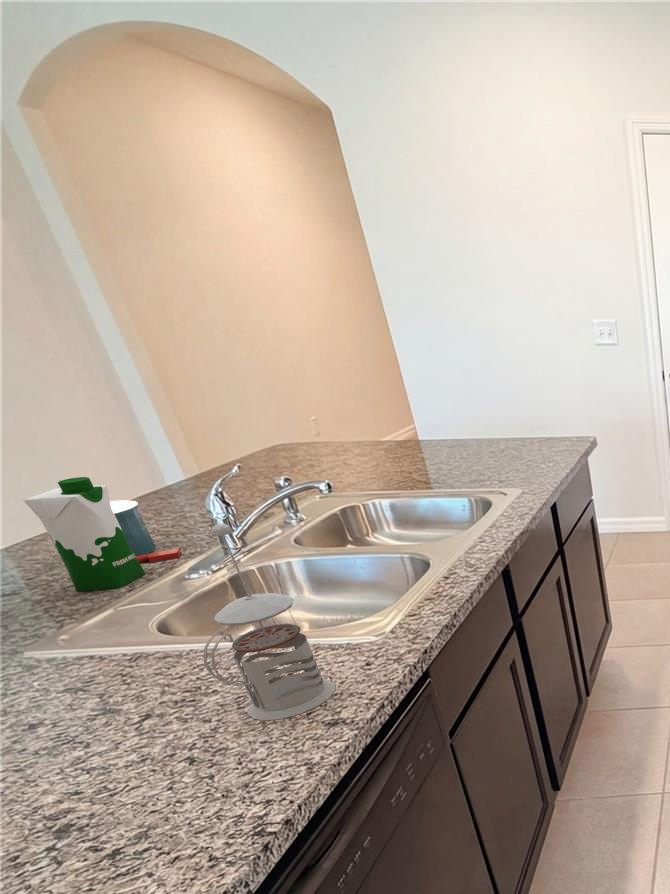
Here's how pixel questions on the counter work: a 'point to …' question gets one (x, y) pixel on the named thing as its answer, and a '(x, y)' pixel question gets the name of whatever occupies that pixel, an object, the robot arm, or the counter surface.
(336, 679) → the counter surface
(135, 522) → the pot
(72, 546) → the milk carton
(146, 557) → the red long bar
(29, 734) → the counter surface
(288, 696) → the french press
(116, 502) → the white round shallow piece
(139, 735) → the counter surface
